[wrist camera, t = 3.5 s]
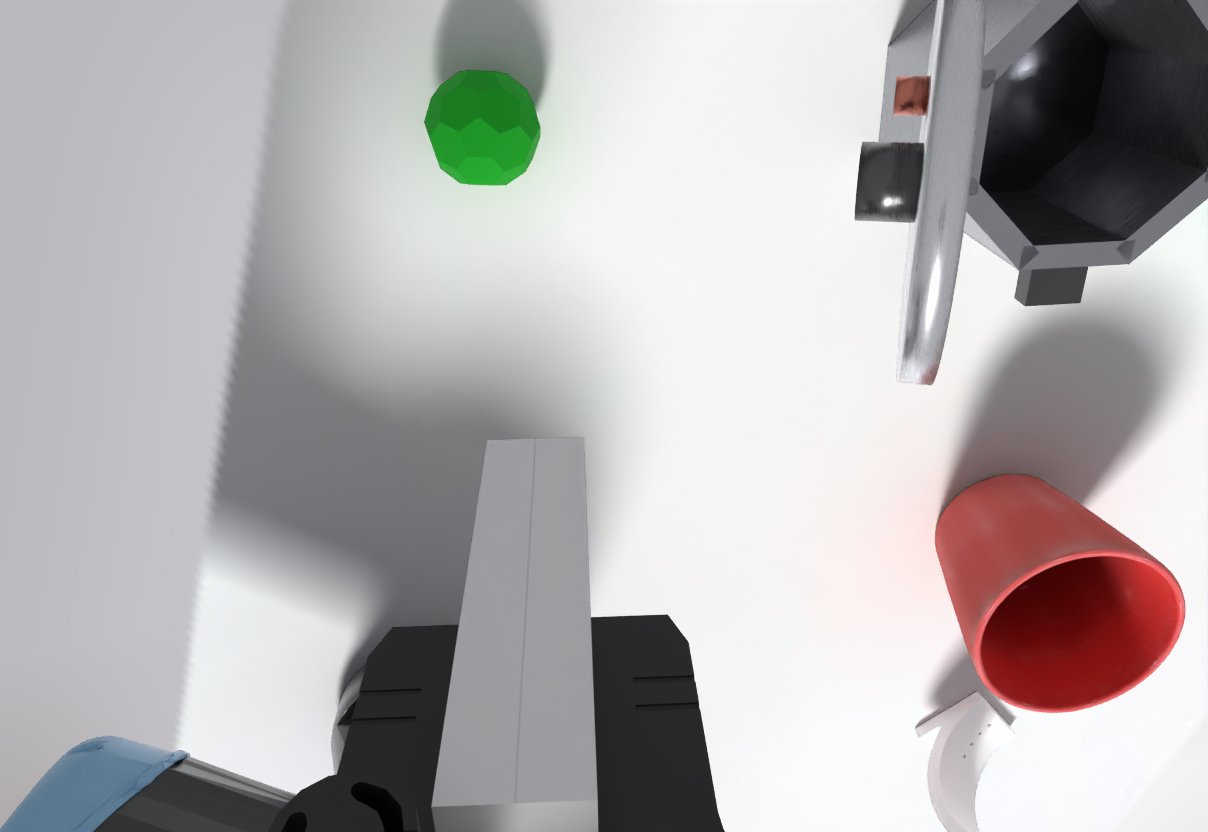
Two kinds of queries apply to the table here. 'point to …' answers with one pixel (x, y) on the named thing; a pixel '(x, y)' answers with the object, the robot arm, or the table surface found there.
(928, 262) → the lid
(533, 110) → the polyhedron
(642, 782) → the robot arm
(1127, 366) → the table surface
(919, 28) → the pot
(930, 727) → the headphone stand
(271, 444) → the table surface
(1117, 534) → the flower pot
